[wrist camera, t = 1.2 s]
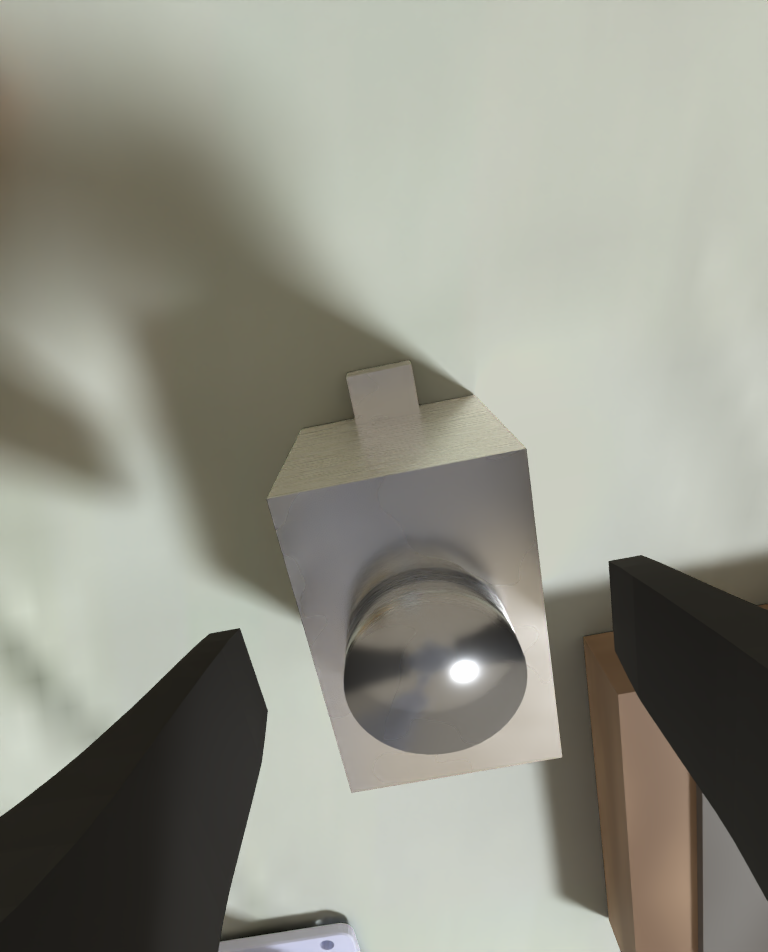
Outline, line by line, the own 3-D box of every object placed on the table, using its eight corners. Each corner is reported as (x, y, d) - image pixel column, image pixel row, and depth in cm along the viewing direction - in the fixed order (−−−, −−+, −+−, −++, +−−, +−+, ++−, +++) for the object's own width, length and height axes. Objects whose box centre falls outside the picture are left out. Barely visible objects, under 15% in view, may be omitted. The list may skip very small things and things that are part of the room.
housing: (365, 680, 17) (361, 887, 11) (289, 384, 14) (230, 454, 8) (512, 654, 17) (587, 851, 11) (468, 348, 14) (539, 393, 8)
